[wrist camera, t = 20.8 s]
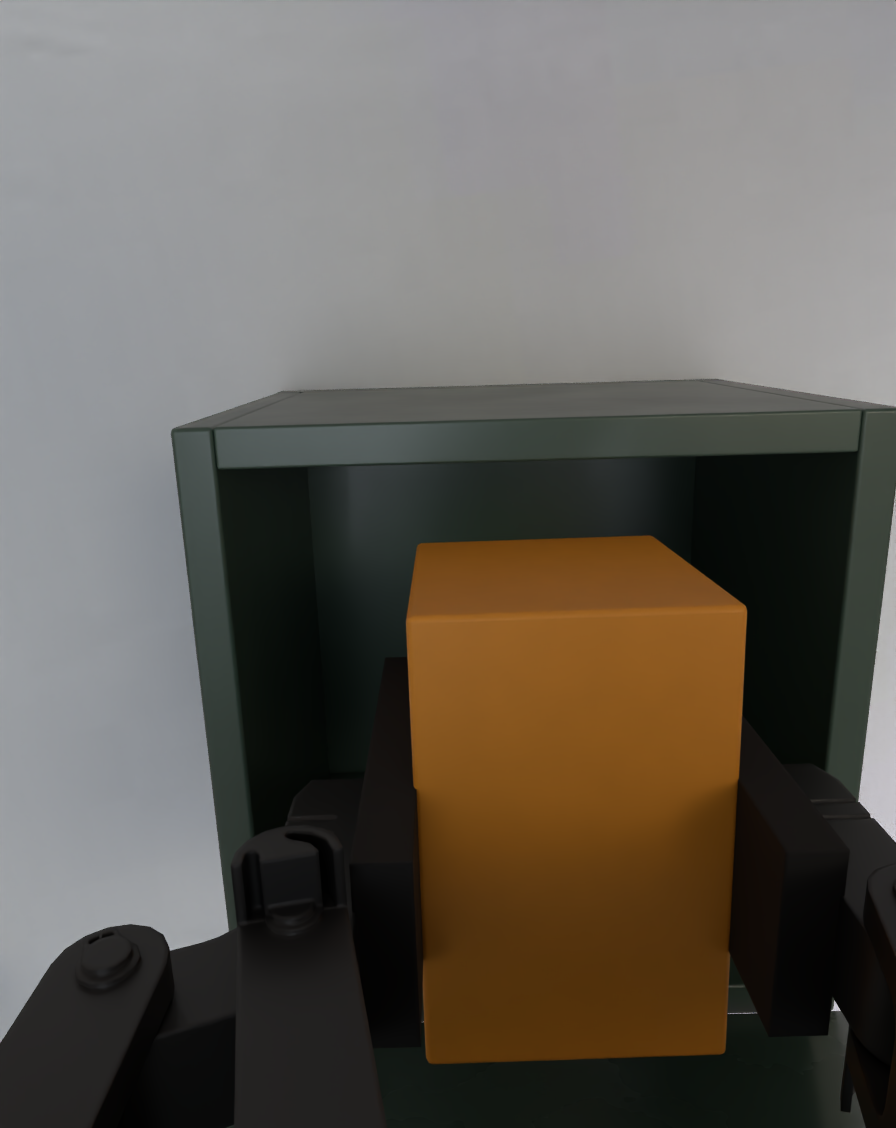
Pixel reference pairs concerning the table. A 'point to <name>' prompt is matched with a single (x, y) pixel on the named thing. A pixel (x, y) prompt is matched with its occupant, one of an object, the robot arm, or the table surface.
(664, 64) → the table surface
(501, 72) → the table surface
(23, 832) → the table surface
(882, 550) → the open storage cube
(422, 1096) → the bin lid
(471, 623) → the block
